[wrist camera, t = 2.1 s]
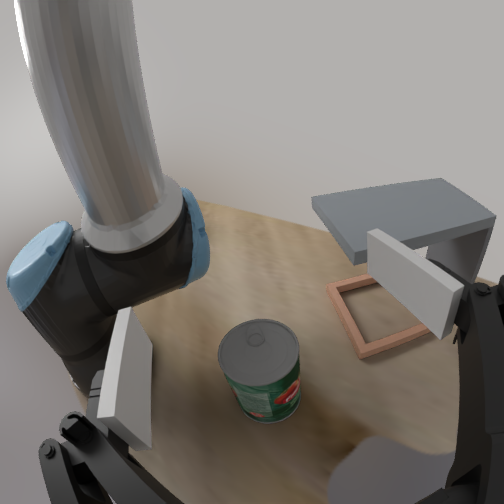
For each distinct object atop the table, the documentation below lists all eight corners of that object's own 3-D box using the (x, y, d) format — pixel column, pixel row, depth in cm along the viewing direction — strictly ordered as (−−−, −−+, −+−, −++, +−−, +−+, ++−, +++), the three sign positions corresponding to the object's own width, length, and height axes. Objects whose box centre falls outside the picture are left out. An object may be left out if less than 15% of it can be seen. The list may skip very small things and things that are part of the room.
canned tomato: (308, 415, 29) (309, 373, 23) (243, 429, 29) (221, 392, 22) (292, 364, 35) (287, 311, 29) (235, 377, 35) (214, 327, 29)
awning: (340, 364, 34) (354, 252, 23) (314, 303, 44) (311, 196, 33) (458, 317, 35) (496, 215, 24) (422, 272, 44) (441, 177, 34)
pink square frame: (359, 359, 34) (361, 353, 33) (326, 290, 46) (326, 284, 45) (439, 327, 34) (442, 321, 33) (397, 271, 46) (399, 264, 45)
